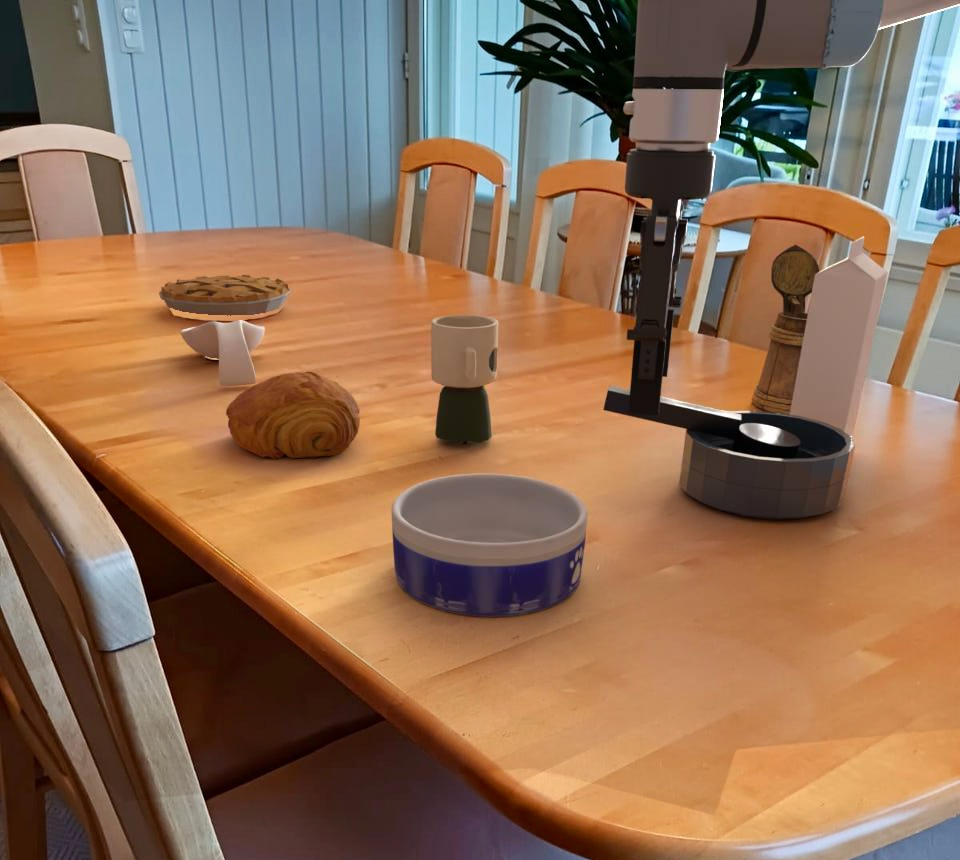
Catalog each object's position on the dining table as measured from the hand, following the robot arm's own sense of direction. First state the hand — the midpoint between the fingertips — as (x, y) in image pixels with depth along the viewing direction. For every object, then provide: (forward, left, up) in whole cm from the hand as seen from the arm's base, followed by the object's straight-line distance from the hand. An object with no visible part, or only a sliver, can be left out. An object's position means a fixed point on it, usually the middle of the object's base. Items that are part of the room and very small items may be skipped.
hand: (648, 393), depth 94 cm
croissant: (+38, -3, -9) cm, 40 cm away
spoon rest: (+59, -31, -9) cm, 67 cm away
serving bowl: (-12, 0, -9) cm, 15 cm away
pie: (+76, -66, -9) cm, 101 cm away
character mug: (+20, -8, -9) cm, 24 cm away
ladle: (-5, 0, -7) cm, 8 cm away
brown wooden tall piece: (-16, -35, -9) cm, 39 cm away
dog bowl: (+10, +25, -9) cm, 29 cm away
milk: (-18, -14, -9) cm, 25 cm away
